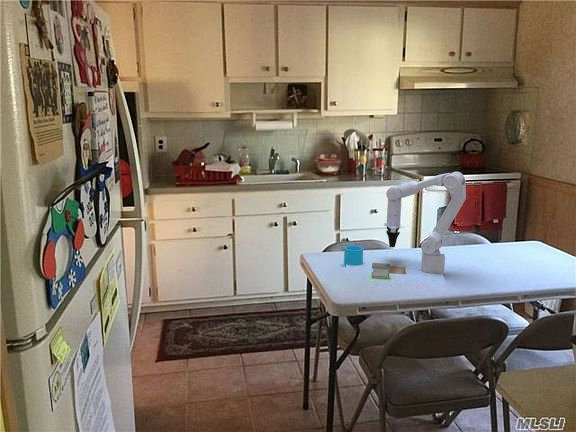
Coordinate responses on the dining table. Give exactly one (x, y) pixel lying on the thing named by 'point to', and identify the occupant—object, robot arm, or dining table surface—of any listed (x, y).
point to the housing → (380, 270)
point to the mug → (353, 255)
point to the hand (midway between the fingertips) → (392, 244)
